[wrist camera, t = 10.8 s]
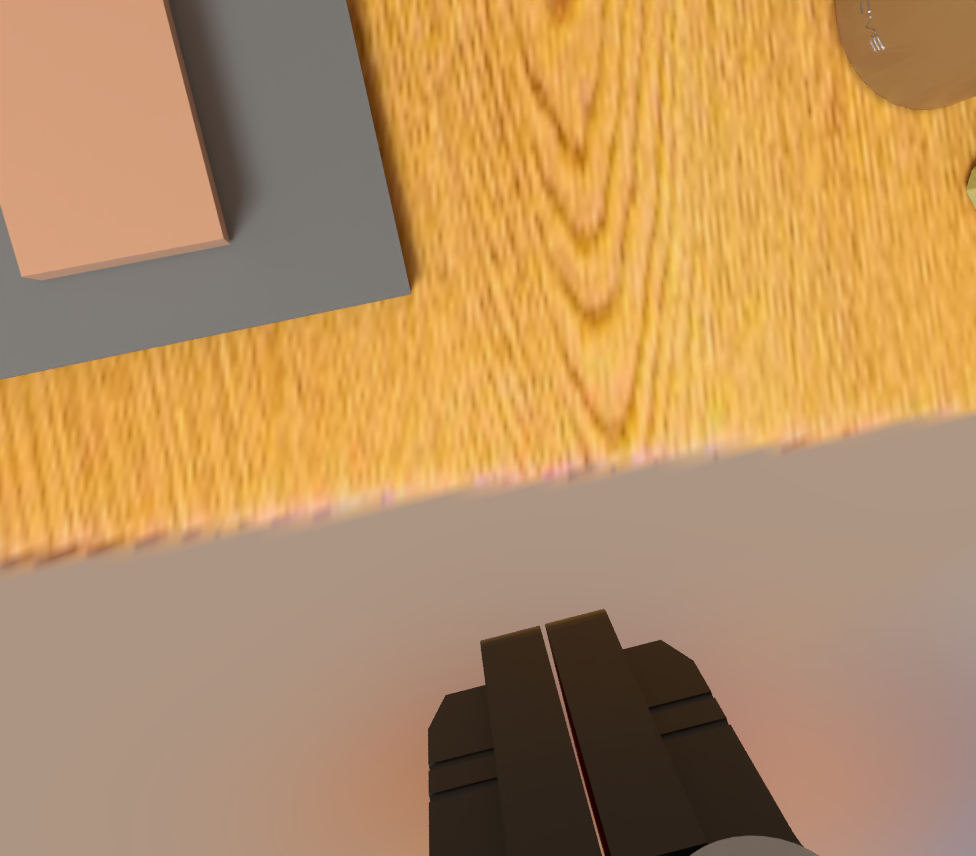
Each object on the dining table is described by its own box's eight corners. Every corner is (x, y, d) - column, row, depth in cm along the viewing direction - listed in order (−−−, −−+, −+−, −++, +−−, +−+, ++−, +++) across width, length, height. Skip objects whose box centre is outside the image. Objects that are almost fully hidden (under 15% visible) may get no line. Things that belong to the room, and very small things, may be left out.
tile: (231, 244, 31) (162, -24, 30) (223, 238, 29) (149, -52, 28) (43, 280, 30) (-38, 3, 29) (21, 276, 28) (-68, -24, 27)
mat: (331, -56, 32) (330, -69, 31) (408, 294, 34) (411, 293, 33) (-226, 18, 29) (-246, 7, 28) (-101, 400, 31) (-115, 402, 30)
